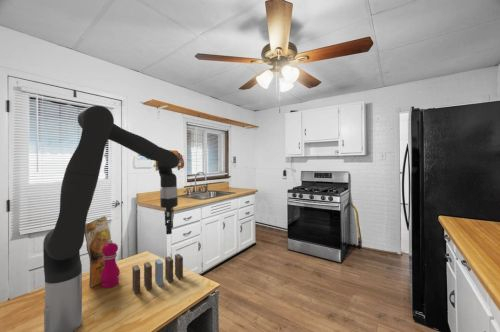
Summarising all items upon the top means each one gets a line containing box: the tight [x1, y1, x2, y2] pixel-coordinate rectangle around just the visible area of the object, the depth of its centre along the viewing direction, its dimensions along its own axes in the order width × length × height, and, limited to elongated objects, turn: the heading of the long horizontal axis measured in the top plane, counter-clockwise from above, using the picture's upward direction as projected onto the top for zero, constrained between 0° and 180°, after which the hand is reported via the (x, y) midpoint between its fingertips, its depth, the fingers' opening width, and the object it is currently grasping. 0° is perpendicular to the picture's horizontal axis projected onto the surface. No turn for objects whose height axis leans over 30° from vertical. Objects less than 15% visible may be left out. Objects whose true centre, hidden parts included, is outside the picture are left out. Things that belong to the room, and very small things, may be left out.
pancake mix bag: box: [84, 215, 112, 288], centre depth 102 cm, size 7×19×28 cm, turn 3°
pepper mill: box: [101, 239, 121, 289], centre depth 97 cm, size 7×7×20 cm
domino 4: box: [164, 256, 174, 284], centre depth 100 cm, size 2×5×10 cm, turn 39°
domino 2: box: [143, 261, 153, 291], centre depth 95 cm, size 2×5×10 cm, turn 39°
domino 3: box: [154, 258, 164, 287], centre depth 98 cm, size 2×5×10 cm, turn 40°
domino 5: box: [174, 253, 184, 280], centre depth 103 cm, size 2×5×10 cm, turn 39°
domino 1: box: [131, 264, 141, 295], centre depth 92 cm, size 2×5×10 cm, turn 39°
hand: (169, 230), depth 100 cm, fingers open, 8 cm apart
